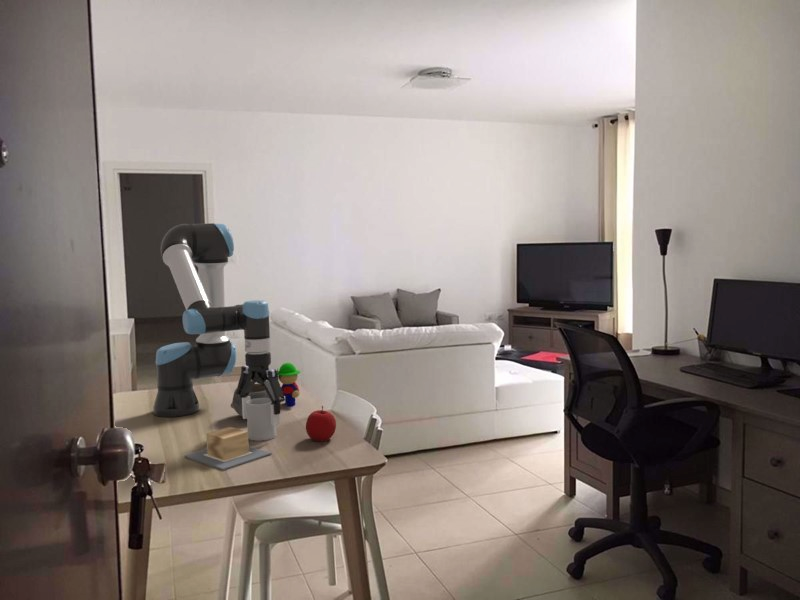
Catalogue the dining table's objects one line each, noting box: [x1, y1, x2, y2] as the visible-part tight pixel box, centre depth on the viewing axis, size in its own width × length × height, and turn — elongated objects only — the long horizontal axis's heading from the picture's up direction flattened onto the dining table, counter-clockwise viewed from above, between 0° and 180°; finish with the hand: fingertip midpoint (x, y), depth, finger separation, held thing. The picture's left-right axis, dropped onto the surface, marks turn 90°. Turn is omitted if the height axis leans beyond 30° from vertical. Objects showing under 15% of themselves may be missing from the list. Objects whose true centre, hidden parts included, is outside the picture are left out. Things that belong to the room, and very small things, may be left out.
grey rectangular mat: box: [184, 445, 273, 471], centre depth 192 cm, size 18×16×1 cm
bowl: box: [230, 383, 269, 417], centre depth 231 cm, size 14×15×10 cm
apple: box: [305, 405, 337, 442], centre depth 205 cm, size 9×9×10 cm
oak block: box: [206, 426, 249, 460], centre depth 192 cm, size 8×8×6 cm
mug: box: [246, 398, 277, 442], centre depth 210 cm, size 12×8×11 cm
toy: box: [276, 362, 301, 407], centre depth 247 cm, size 11×9×15 cm
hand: (261, 421), depth 210 cm, fingers open, 13 cm apart
